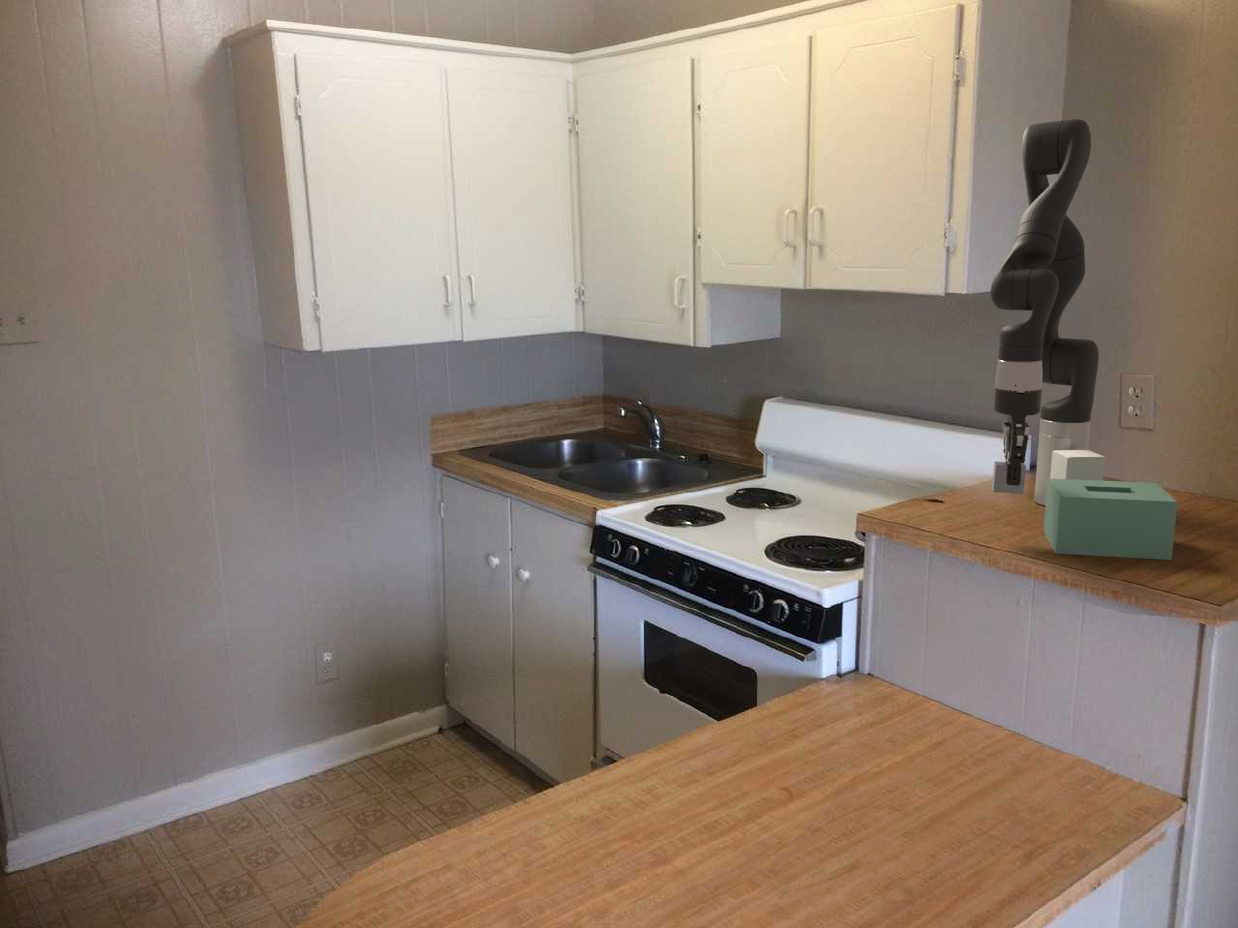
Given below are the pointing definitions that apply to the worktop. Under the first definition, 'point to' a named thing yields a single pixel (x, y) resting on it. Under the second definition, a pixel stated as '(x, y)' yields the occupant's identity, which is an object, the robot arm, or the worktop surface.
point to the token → (1001, 479)
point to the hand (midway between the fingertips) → (1012, 482)
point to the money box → (1110, 518)
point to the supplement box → (1077, 465)
